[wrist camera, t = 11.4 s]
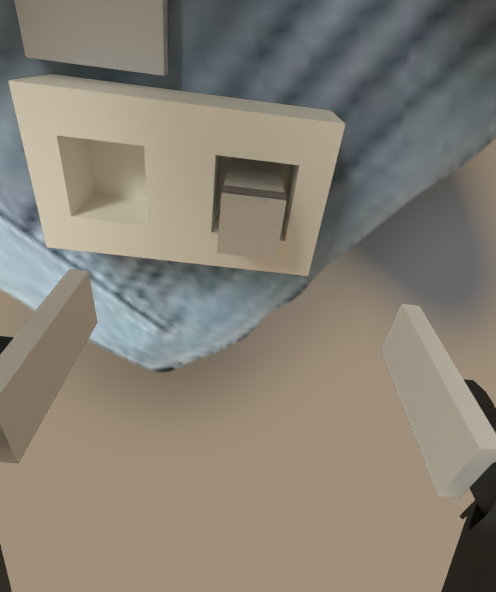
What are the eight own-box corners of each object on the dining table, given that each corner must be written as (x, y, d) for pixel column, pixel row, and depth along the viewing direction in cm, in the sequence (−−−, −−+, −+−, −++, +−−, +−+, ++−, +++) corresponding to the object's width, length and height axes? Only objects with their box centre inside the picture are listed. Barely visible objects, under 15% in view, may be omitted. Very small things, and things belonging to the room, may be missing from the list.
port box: (77, 221, 35) (47, 250, 30) (52, 73, 28) (7, 80, 23) (300, 246, 36) (307, 279, 31) (330, 110, 29) (345, 124, 24)
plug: (227, 200, 32) (216, 253, 24) (231, 153, 30) (220, 194, 22) (272, 206, 33) (276, 260, 24) (279, 159, 30) (287, 202, 22)
